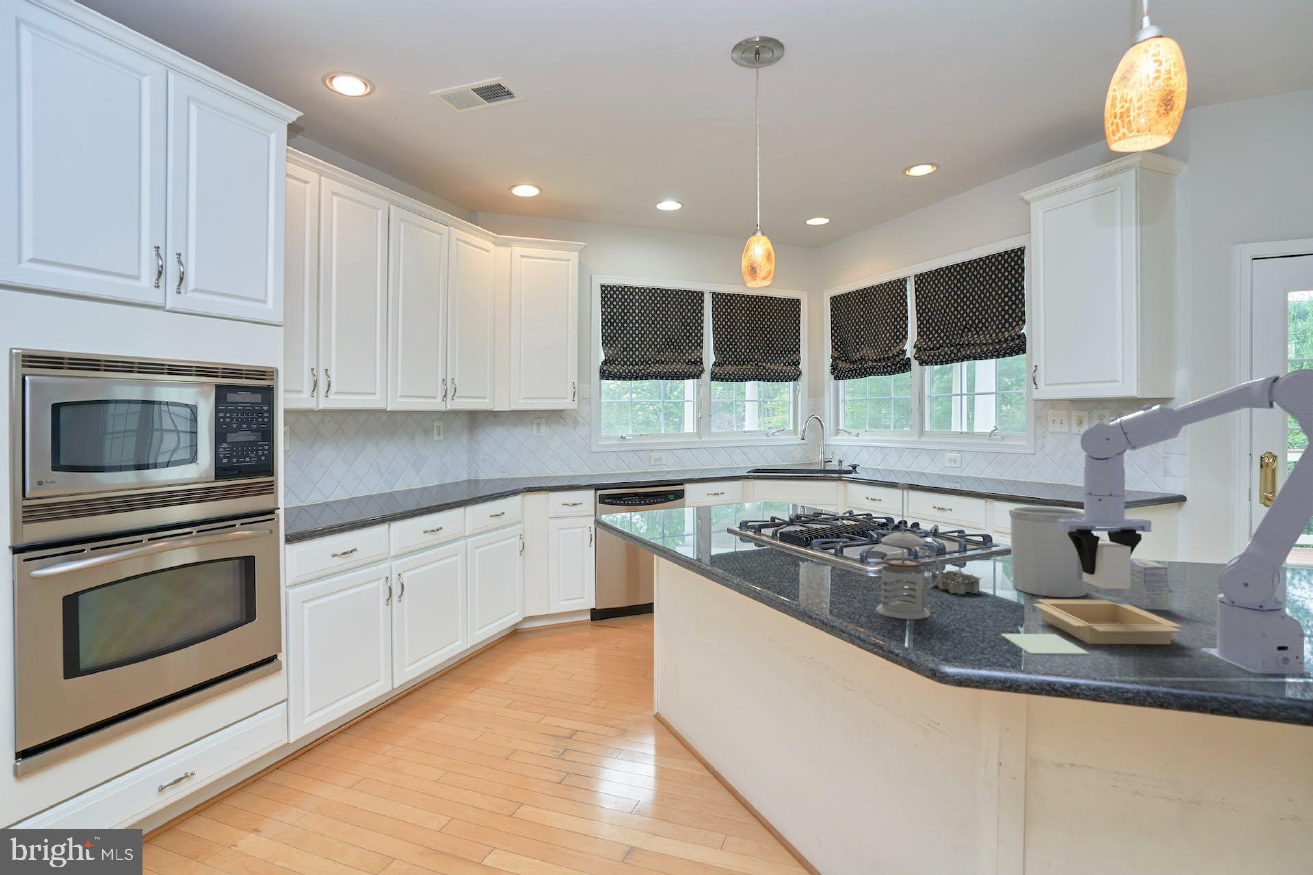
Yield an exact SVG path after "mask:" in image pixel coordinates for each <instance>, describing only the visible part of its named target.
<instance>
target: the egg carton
mask: <svg viewBox="0 0 1313 875" xmlns="http://www.w3.org/2000/svg"><path fill="white" fill-rule="evenodd" d="M926 570H928V571H929V572H931V573H930V575H929V578H928V579H929V581H928V582H929V585H931V584H933V583H934V582H936V580H937V578H938V572H936V571H935V570H934V569H932V568H931V567H929V566H927V567H926ZM982 579H983V577H979V576H976V575H975V576H974V575H973V574H972V573H971V574H968V573H965V572H963V571H962V570H960V569H955V570H946V572H944V571H942V570H941V574H940V578H939V580H938V581H937V583H936V584H935V585H934V586H933V587H938V589H939V590H942V589H947V590H946V591H948V592H950V594H952V593H959V594H958V595H960V594H964V595H965V594H966V593H965V592H971V593H970V594H974V593H977V594H979V592H980V580H982ZM951 582H953V583H951ZM978 591H979V592H978Z"/></svg>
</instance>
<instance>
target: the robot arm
mask: <svg viewBox="0 0 1313 875" xmlns="http://www.w3.org/2000/svg"><path fill="white" fill-rule="evenodd" d="M1274 403H1275V404H1276V405H1277V406H1278V407H1279V408H1280V409H1282V410H1283V411H1284V412H1285V413H1287V415H1289V416H1290V417H1292V418H1293V419H1295V420H1296V421H1297V424H1298V426H1299V427H1300V429H1301V430H1302V432H1303V433H1304V435H1305V436H1306V438H1307V440H1308V443H1307V445H1306V447H1305V449H1304V450H1303V452H1302V454H1301V455H1300V457H1299V458H1298V460H1297V461H1296V463H1295V465H1294V466H1293V468H1292V470H1291V472H1290V473H1289V475H1288V476H1287V478H1286V480H1285V481H1284V483H1283V485H1282V486H1281V488H1280V489H1279V492H1277V494H1276V497H1275V498H1274V499H1273V501H1272V503H1271V505H1270V507H1269V508H1268V510H1267V511H1266V513H1265V515H1264V517H1263V518H1262V519H1261V522H1260V523H1259V525H1258V527H1257V528H1256V530H1255V531H1254V533H1253V534H1252V536H1251V538H1250V540H1249V541H1248V543H1247V544H1246V546H1245V548H1244V549H1243V551H1242V553H1240V554H1239V555H1237V556H1234V557H1233V558H1231V559H1230V560H1229V561H1228V562H1227V563H1226V565H1225V567H1224V568H1222V569H1221V571H1220V572H1219V574H1218V577H1217V586H1218V588H1219V590H1220V592H1221V593H1219V594H1217V595H1216V600H1217V601H1216V606H1217V607H1216V648H1206V647H1205V648H1201V649H1200V651H1201V652H1203V653H1205V654H1208V655H1210V656H1212V657H1215V658H1217V659H1219V660H1222V661H1223V662H1226V663H1228V664H1231V665H1232V666H1236V667H1239V668H1241V669H1242V670H1244V671H1247V672H1249V673H1251V674H1265V675H1266V674H1270V675H1271V674H1274V675H1275V674H1276V675H1277V674H1278V675H1279V674H1281V675H1284V674H1287V675H1291V674H1292V675H1293V674H1294V675H1295V674H1296V675H1297V674H1298V675H1303V674H1304V675H1310V674H1311V673H1310V670H1307V669H1305V668H1304V667H1305V666H1304V665H1305V663H1304V662H1305V661H1304V660H1305V632H1304V629H1303V628H1304V627H1303V625H1302V624H1301V623H1300V621H1299V620H1298V619H1296V618H1295V617H1293V616H1290V615H1288V614H1287V613H1286V612H1285V610H1284V609H1283V602H1282V601H1281V600H1279V598H1278V597H1276V592H1277V589H1278V586H1279V584H1280V581H1281V573H1280V569H1281V568H1282V566H1283V564H1284V563H1285V561H1286V559H1287V558H1288V556H1289V555H1290V553H1291V551H1292V549H1293V548H1294V546H1295V545H1296V543H1297V542H1298V540H1299V539H1300V537H1301V535H1303V534H1302V533H1303V532H1304V531H1305V529H1306V528H1307V525H1308V524H1309V523H1310V521H1311V519H1312V518H1313V368H1301V369H1300V368H1299V369H1295V370H1292V371H1289V372H1287V373H1285V374H1283V375H1282V376H1279V375H1278V374H1276V375H1272V376H1266V377H1263V378H1260V379H1255V380H1250V381H1247V382H1244V383H1240V384H1238V385H1235V386H1232V387H1230V388H1226V389H1223V390H1222V391H1218V392H1216V393H1213V394H1210V395H1207V396H1205V397H1202V398H1199V399H1197V400H1194V401H1191V402H1188V403H1185V404H1182V405H1180V406H1177V407H1175V408H1172V407H1169V406H1168V405H1167V406H1166V405H1163V404H1157V405H1155V406H1153V404H1149V403H1148V404H1146V405H1143V406H1141V408H1140V409H1141V410H1140V411H1137V412H1135V413H1132V414H1128V415H1124V416H1123V417H1119V418H1118V417H1117V416H1114V417H1111V418H1109V419H1108V420H1109V424H1106V423H1095V424H1094V425H1093V426H1091V427H1089V428H1087V429H1086V430H1085V431H1084V432H1083V433H1082V435H1081V436H1080V437H1081V438H1080V447H1081V449H1082V450H1083V451H1084V467H1083V471H1084V472H1083V483H1084V484H1083V510H1084V518H1075V519H1058V530H1059V531H1062V532H1068V536H1069V537H1070V539H1071V541H1072V542H1073V544H1074V546H1075V548H1076V550H1077V553H1078V555H1079V558H1080V561H1081V565H1082V569H1083V572H1084V573H1087V574H1090V575H1094V573H1095V566H1096V550H1097V546H1098V542H1099V539H1101V537H1100V536H1098V535H1095V534H1094V532H1107V536H1108V541H1110V542H1114V543H1118V544H1121V545H1125V546H1129V547H1131V555H1132V554H1133V553H1134V551H1135V549H1136V547H1137V546H1138V545H1139V543H1140V542H1141V541H1142V539H1143V538H1142V533H1138V532H1144V533H1151V532H1152V520H1151V519H1150V520H1149V519H1144V518H1126V517H1125V516H1126V515H1125V504H1126V503H1125V500H1126V499H1125V498H1126V496H1125V493H1126V492H1125V491H1126V490H1125V489H1126V488H1125V487H1126V486H1125V485H1126V483H1125V482H1126V480H1125V479H1126V475H1125V473H1126V471H1125V466H1124V465H1125V453H1126V452H1127V451H1128V450H1129V451H1136V450H1140V449H1143V448H1146V447H1149V446H1152V445H1156V444H1158V443H1162V442H1165V441H1168V440H1172V439H1175V438H1177V437H1178V436H1179V435H1180V432H1181V431H1182V429H1183V427H1186V426H1188V425H1191V424H1194V423H1199V422H1202V421H1205V420H1210V419H1212V418H1216V417H1219V416H1222V415H1226V414H1229V413H1233V412H1236V411H1240V410H1243V409H1249V408H1250V409H1267V410H1268V409H1269V410H1274V409H1275V408H1274V407H1275V406H1274ZM1087 527H1088V528H1087Z"/></svg>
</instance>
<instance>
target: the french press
mask: <svg viewBox="0 0 1313 875" xmlns="http://www.w3.org/2000/svg"><path fill="white" fill-rule="evenodd" d="M897 489H898V490H901V491H902V493H901V494H902V497H901V498H902V500H901V504H902V506H901V508H902V510H901V513H902V514H901V515H902V516H901V517H902V518H901V520H902V522H901V527H902V528H901V529H902V530H901V531H900V532H893V533H891V534H888V535H885V536H884V537H881V538H880V542H881V543H882V544H883V545H886V546H893V547H897V548H898V547H899V548H902V549H901V552H902V553H901V557H888V558H887V557H886V558H884V559H883V560H882V561H883V563H884V564H885V565H883V566H882V567H881V604H879V605H878V606H877V607H876V610H875V611H877V612H878V613H879V614H881V615H883V616H887V617H892V618H895V619H896V618H897V619H902V620H903V619H905V620H906V619H907V620H918V619H919V620H920V619H924V618H925V619H926V618H928V617H929V616H931V613H930V611H929V610H928V609H927V608H926V590H929V589H931V588H933V587H935V586H934V585H935V584H936V583H937V581H938V580H939V578H940V574H941V571H942V566H941V564H942V563H941V562H940V560H939V558H938V556H937V555H936V554H935V553H934V551H931V550H930V549H927V548H926V549H924V550H923V551H922V558H926V555H927V554H928V555H930V556H931V557H932V558H933V559H934V561H935V563H936V566H937V569H938V570H937V574H938V578H937V580H936V582H934V583H933V584H931V585H930V584H928V585H926V586H925V569H923V568H922V567H921V566H923V561H921V560H919V559H915V558H909V557H905V558H904V548H918V547H922V546H925V544H926V541H925V540H924V539H923V538H921V537H920V536H918V535H915V534H913V533H910V532H909V533H908V532H906V531H904V490H907V489H909V485H908V484H907V483H906V482H899V483H898V484H897ZM926 553H927V554H926ZM920 567H921V568H920ZM906 572H908V573H906ZM909 572H913V573H909ZM902 580H905V581H903V582H901V583H897V582H900V581H902ZM892 583H893V585H888V584H892ZM894 583H895V584H894ZM902 587H904V588H902ZM899 588H901V589H899ZM895 589H897V590H895ZM888 590H894V591H892V592H891V591H888ZM898 594H899V595H900V594H902V595H900V596H897V597H893V596H895V595H898ZM888 597H889V598H888ZM890 597H892V598H890Z"/></svg>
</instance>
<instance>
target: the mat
mask: <svg viewBox="0 0 1313 875" xmlns="http://www.w3.org/2000/svg"><path fill="white" fill-rule="evenodd" d="M1000 636H1002V637H1003V638H1005V639H1006V640H1008V641H1009V642H1011V643H1012V644H1013V645H1015V646H1016V647H1018V648H1020V649H1021V650H1022V651H1024V652H1026V653H1027V654H1029V655H1045V656H1046V655H1049V656H1050V655H1052V656H1053V655H1055V656H1056V655H1061V656H1062V655H1067V656H1069V655H1070V656H1071V655H1072V656H1073V655H1074V656H1076V655H1079V656H1083V655H1084V656H1085V655H1087V656H1088V655H1090V652H1088V651H1086V650H1085V649H1083V648H1081V647H1079V646H1077V645H1076V644H1074V643H1072V642H1070V641H1068V640H1066V639H1065V638H1063V637H1061V636H1059V635H1057V634H1056V633H1000Z"/></svg>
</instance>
